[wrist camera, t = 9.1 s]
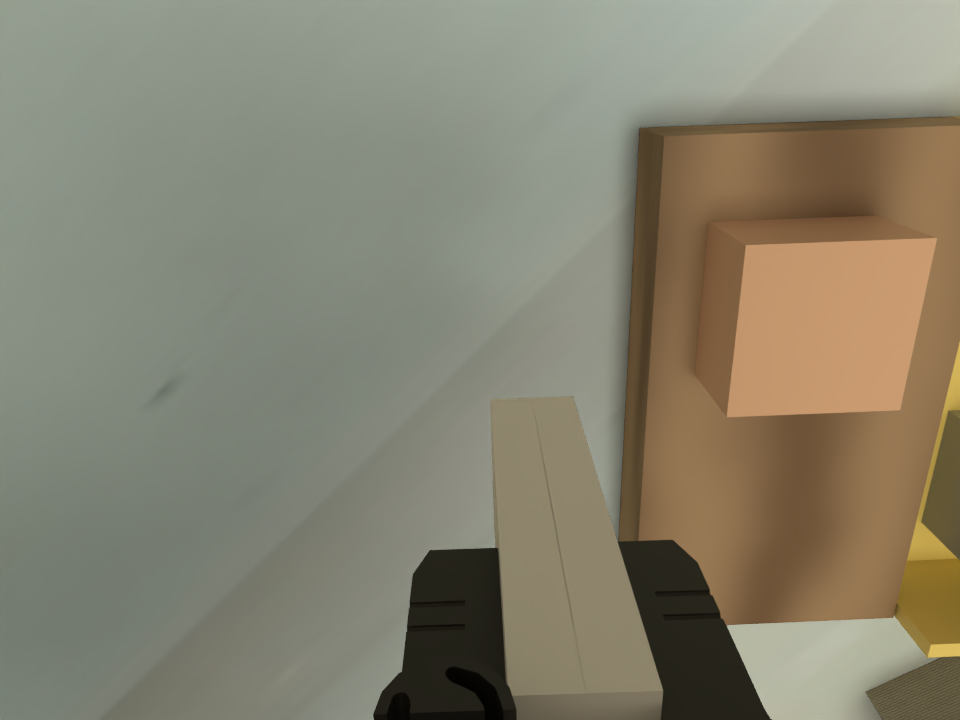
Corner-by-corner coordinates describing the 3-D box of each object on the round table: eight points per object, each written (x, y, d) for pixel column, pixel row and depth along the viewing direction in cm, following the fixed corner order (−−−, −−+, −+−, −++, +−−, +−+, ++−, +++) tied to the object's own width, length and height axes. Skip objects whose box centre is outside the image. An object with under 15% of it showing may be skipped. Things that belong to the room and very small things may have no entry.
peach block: (694, 375, 23) (726, 417, 20) (708, 221, 21) (745, 245, 18) (847, 369, 23) (900, 410, 20) (875, 215, 21) (937, 237, 19)
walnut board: (616, 576, 30) (632, 629, 27) (639, 127, 23) (664, 136, 20) (853, 566, 30) (892, 617, 27) (946, 116, 23) (1012, 123, 20)
